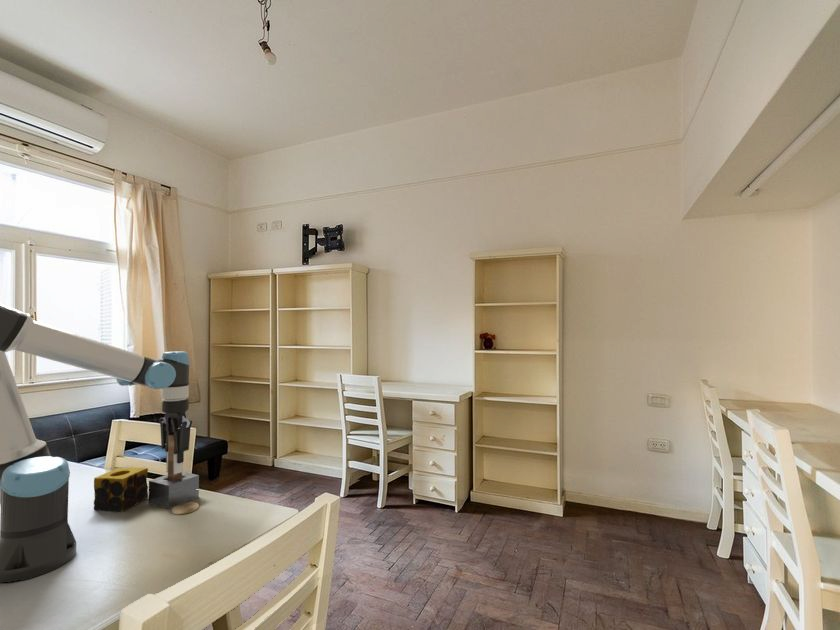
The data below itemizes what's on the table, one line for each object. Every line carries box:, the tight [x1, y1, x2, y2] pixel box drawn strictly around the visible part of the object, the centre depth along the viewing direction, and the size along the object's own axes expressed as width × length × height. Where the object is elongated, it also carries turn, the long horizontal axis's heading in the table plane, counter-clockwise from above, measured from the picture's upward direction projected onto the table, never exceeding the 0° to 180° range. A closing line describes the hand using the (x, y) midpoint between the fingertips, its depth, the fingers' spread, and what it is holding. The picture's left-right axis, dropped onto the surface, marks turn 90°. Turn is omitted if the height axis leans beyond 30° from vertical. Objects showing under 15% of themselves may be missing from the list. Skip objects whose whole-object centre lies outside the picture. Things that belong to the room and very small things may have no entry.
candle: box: [93, 466, 149, 512], centre depth 128 cm, size 10×10×10 cm
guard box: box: [148, 471, 200, 510], centre depth 131 cm, size 10×10×7 cm
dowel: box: [167, 434, 182, 482], centre depth 132 cm, size 3×3×16 cm
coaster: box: [171, 502, 199, 516], centre depth 124 cm, size 7×7×1 cm
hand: (174, 471), depth 132 cm, fingers closed on dowel, 3 cm apart
